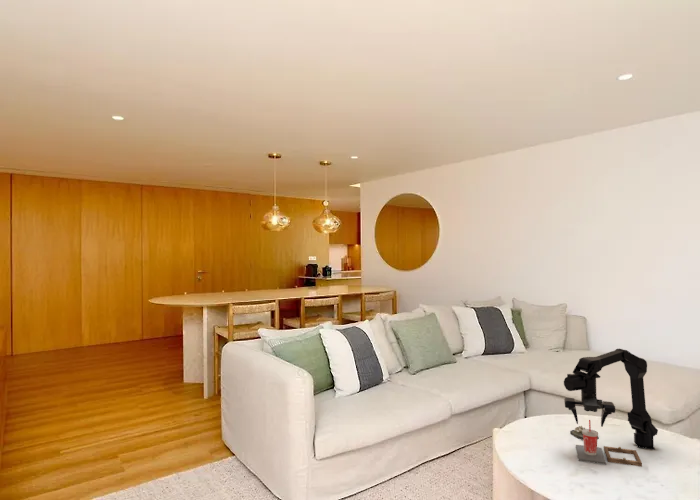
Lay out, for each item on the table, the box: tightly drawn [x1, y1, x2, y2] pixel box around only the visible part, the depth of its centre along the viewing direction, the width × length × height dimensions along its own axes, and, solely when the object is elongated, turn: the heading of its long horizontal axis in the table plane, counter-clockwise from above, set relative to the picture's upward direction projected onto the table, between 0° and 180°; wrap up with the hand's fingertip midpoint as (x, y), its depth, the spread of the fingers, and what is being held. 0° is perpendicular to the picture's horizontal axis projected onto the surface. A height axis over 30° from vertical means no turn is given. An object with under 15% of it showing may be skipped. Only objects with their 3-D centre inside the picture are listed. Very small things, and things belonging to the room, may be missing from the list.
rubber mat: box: [575, 444, 607, 465], centre depth 189 cm, size 10×14×1 cm
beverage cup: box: [582, 419, 599, 455], centre depth 189 cm, size 6×6×14 cm
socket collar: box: [603, 445, 643, 468], centre depth 186 cm, size 12×12×2 cm
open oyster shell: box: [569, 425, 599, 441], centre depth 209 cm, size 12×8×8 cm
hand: (589, 425), depth 189 cm, fingers open, 9 cm apart
